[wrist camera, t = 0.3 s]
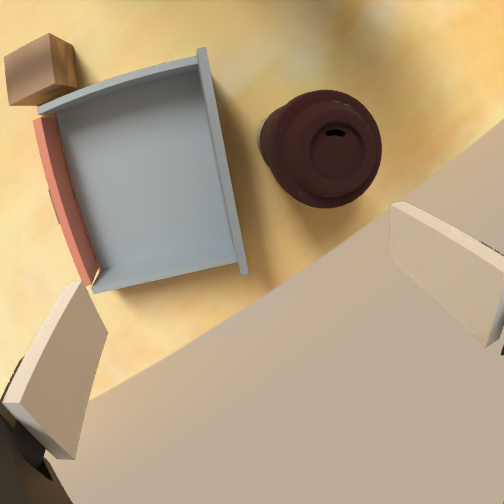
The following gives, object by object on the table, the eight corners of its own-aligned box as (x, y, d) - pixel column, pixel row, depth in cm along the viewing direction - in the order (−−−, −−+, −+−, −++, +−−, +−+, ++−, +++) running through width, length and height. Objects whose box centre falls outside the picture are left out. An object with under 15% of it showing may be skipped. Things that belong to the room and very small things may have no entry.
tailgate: (46, 121, 29) (30, 121, 24) (55, 118, 29) (40, 117, 24) (89, 268, 37) (82, 287, 33) (98, 266, 37) (91, 284, 33)
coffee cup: (297, 193, 39) (350, 235, 25) (229, 152, 35) (249, 173, 22) (338, 128, 36) (411, 139, 23) (273, 82, 33) (321, 62, 19)
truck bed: (59, 107, 29) (22, 107, 21) (203, 64, 31) (205, 47, 22) (105, 270, 39) (86, 309, 30) (237, 240, 40) (249, 274, 32)
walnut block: (31, 63, 26) (4, 57, 20) (72, 45, 26) (49, 33, 20) (37, 105, 28) (9, 105, 22) (78, 88, 29) (54, 83, 23)
